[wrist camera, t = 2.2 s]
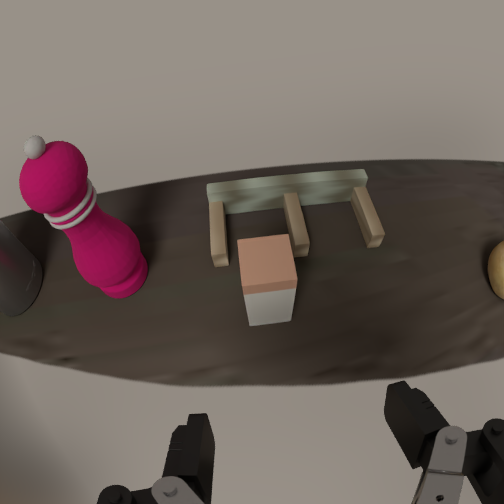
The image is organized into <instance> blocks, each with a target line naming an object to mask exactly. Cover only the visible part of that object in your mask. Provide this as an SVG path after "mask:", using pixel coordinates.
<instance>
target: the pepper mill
mask: <svg viewBox="0 0 504 504" xmlns="http://www.w3.org/2000/svg"><path fill="white" fill-rule="evenodd" d="M24 153H25V155H26V156H27V157H28V159H27V160H26V162H25V163H24V165H23V167H22V170H21V173H20V179H19V183H20V190H21V194H22V197H23V199H24V200H25V202H26V203H27V205H28V206H29V207H30V208H31V209H32V210H34V211H36V212H38V213H42V214H44V216H45V218H46V219H47V220H48V221H49V222H50V224H51V225H52V226H53V227H54V228H56V229H62V230H63V231H64V232H65V233H66V235H67V236H68V238H69V239H70V241H71V245H72V251H73V257H74V261H75V264H76V266H77V269H78V271H79V272H80V274H81V275H82V276H83V278H84V279H85V280H86V281H87V282H88V283H90V284H92V285H94V286H97V287H99V288H100V289H101V290H102V291H103V292H104V293H105V294H106V295H108V296H110V297H113V298H125V297H128V296H130V295H132V294H133V293H135V292H136V291H137V290H138V289H139V288H140V287H141V286H142V285H143V283H144V281H145V279H146V277H147V272H148V266H147V262H146V260H145V258H144V256H143V255H142V253H141V251H140V244H139V241H138V238H137V236H136V235H135V234H134V232H133V231H132V230H131V229H130V228H129V227H128V226H127V225H126V224H124V223H123V222H122V221H120V220H118V219H116V218H114V217H112V216H110V215H108V214H106V213H104V212H103V211H102V210H101V209H100V208H99V206H98V205H97V203H96V197H97V194H96V190H95V188H94V187H93V186H92V183H91V181H90V180H89V179H88V178H87V175H88V167H87V163H86V161H85V158H84V156H83V155H82V153H81V152H80V151H79V149H77V148H76V147H75V146H74V145H72V144H70V143H68V142H64V141H54V142H50V143H48V144H45V142H44V140H43V138H42V137H40V136H32V137H30V138H29V139H28V140H27V141H26V142H25V145H24Z"/></svg>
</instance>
